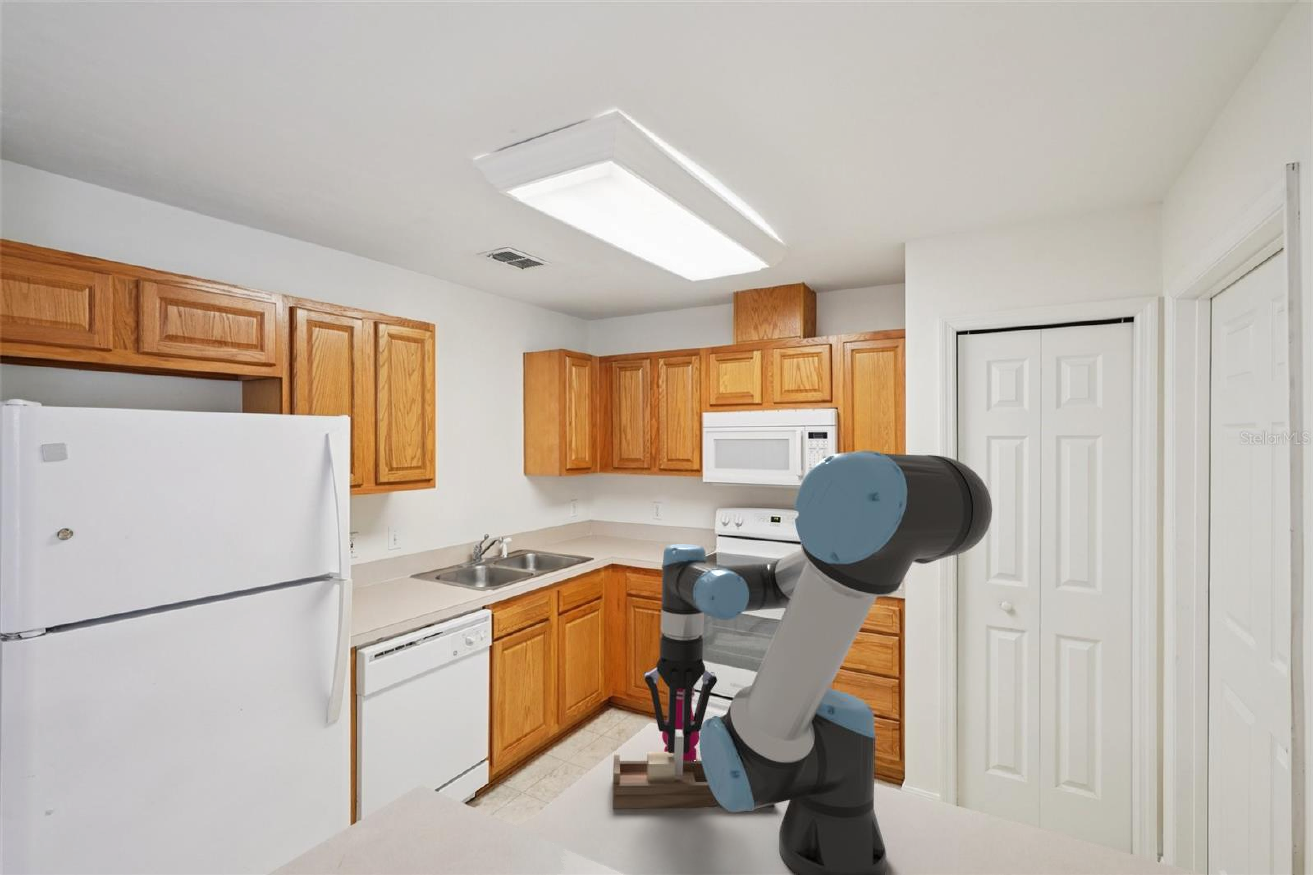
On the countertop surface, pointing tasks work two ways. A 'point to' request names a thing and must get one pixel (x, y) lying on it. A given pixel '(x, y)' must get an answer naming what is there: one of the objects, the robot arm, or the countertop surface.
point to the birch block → (660, 767)
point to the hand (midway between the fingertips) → (677, 770)
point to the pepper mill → (694, 736)
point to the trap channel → (661, 787)
